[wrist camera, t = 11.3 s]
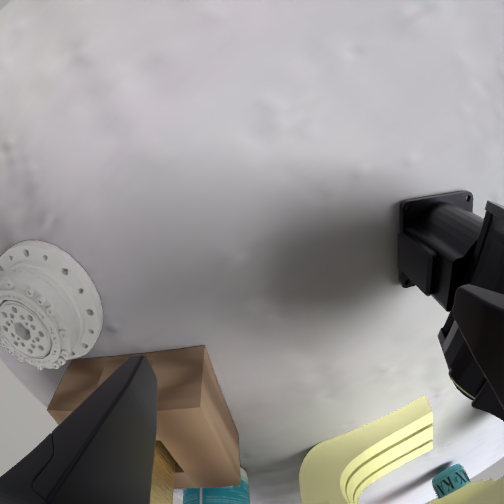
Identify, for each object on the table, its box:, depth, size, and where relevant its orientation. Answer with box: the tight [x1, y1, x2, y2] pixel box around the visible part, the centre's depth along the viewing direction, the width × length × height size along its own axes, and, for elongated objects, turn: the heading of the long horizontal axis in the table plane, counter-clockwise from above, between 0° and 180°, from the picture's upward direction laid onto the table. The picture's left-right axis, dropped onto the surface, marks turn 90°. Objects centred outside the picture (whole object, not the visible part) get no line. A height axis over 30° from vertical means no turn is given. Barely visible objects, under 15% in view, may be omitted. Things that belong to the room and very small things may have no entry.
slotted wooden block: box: [47, 345, 241, 488], centre depth 22 cm, size 12×12×6 cm
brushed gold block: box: [150, 440, 176, 504], centre depth 19 cm, size 3×4×10 cm
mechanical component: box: [0, 240, 103, 371], centre depth 19 cm, size 10×4×10 cm
